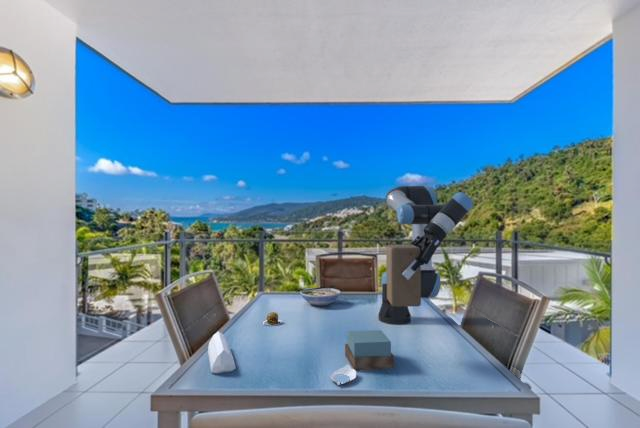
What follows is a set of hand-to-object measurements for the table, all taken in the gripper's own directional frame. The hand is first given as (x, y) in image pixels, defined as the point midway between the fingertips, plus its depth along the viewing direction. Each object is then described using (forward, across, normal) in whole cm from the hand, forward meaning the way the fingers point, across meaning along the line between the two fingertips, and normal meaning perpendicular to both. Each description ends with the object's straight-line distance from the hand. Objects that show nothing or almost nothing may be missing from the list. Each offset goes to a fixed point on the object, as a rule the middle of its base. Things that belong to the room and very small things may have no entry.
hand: (397, 274), depth 122 cm
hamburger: (+50, +49, +8) cm, 71 cm away
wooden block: (+6, 0, -9) cm, 11 cm away
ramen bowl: (+30, +80, -12) cm, 86 cm away
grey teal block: (+25, 0, -10) cm, 27 cm away
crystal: (+63, +10, +22) cm, 68 cm away
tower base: (+29, 0, -13) cm, 31 cm away
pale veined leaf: (+37, -12, -5) cm, 39 cm away
